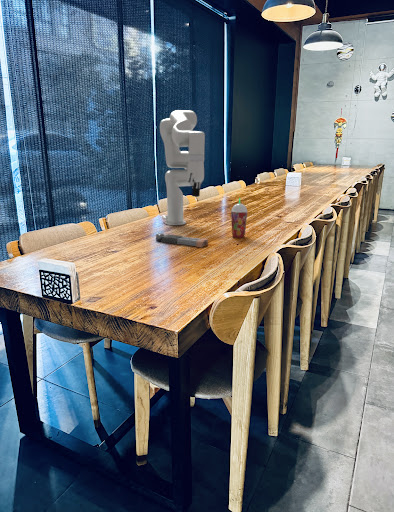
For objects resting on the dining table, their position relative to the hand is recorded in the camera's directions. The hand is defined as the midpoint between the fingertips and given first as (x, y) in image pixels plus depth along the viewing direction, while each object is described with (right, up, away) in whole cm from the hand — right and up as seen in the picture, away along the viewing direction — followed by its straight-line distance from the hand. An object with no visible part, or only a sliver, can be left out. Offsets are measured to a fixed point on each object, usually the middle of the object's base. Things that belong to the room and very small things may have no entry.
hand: (196, 196), depth 187 cm
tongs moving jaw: (-7, -23, -5) cm, 25 cm away
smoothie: (+22, -20, +7) cm, 31 cm away
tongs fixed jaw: (-6, -24, -8) cm, 26 cm away
